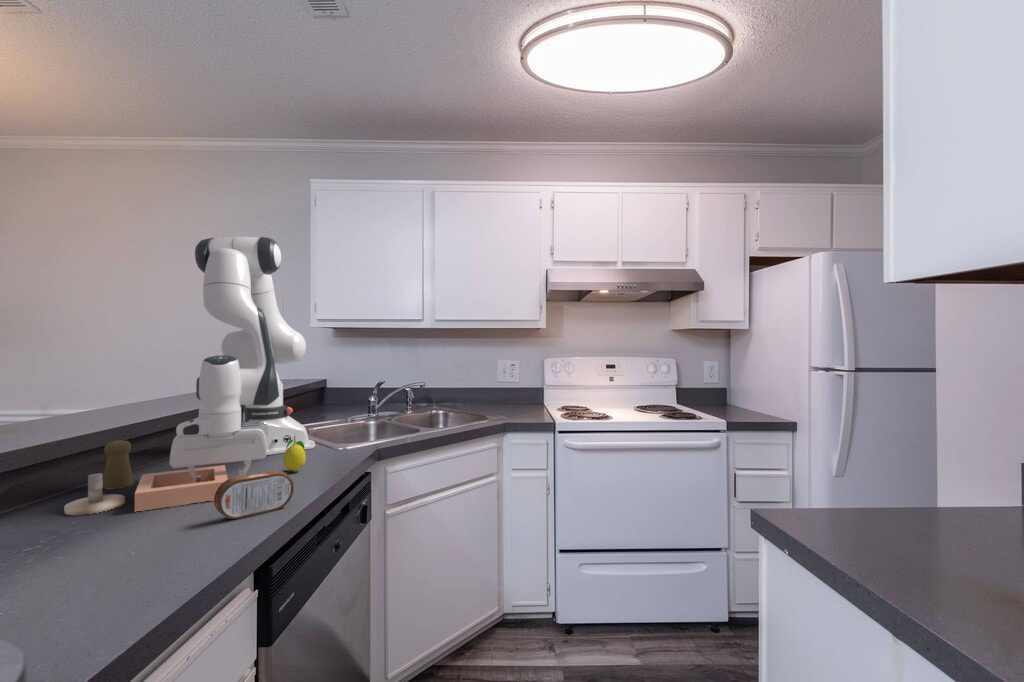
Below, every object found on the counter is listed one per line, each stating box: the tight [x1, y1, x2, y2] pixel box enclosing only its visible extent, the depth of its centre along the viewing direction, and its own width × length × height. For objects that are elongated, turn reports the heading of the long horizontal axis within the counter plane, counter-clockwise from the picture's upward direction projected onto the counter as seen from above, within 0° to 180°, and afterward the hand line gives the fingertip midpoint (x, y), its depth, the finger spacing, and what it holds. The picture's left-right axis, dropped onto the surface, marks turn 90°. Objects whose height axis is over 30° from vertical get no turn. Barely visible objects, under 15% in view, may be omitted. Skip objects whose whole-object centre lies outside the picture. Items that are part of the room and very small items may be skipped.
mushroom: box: [63, 472, 126, 516], centre depth 107 cm, size 10×10×7 cm
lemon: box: [283, 435, 307, 473], centre depth 136 cm, size 7×6×10 cm
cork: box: [103, 440, 134, 489], centre depth 123 cm, size 6×6×11 cm
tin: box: [213, 469, 295, 520], centre depth 104 cm, size 15×3×8 cm, turn 134°
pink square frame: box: [134, 464, 229, 513], centre depth 116 cm, size 17×17×4 cm
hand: (220, 481), depth 120 cm, fingers open, 8 cm apart
